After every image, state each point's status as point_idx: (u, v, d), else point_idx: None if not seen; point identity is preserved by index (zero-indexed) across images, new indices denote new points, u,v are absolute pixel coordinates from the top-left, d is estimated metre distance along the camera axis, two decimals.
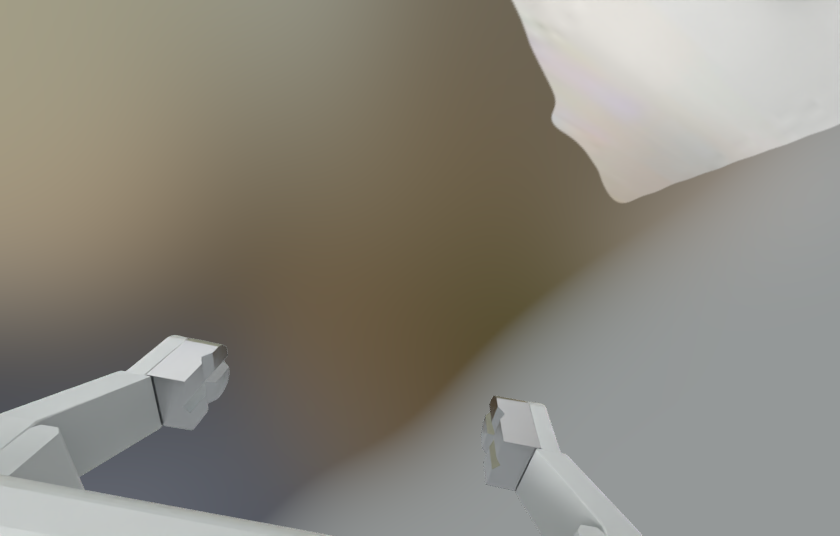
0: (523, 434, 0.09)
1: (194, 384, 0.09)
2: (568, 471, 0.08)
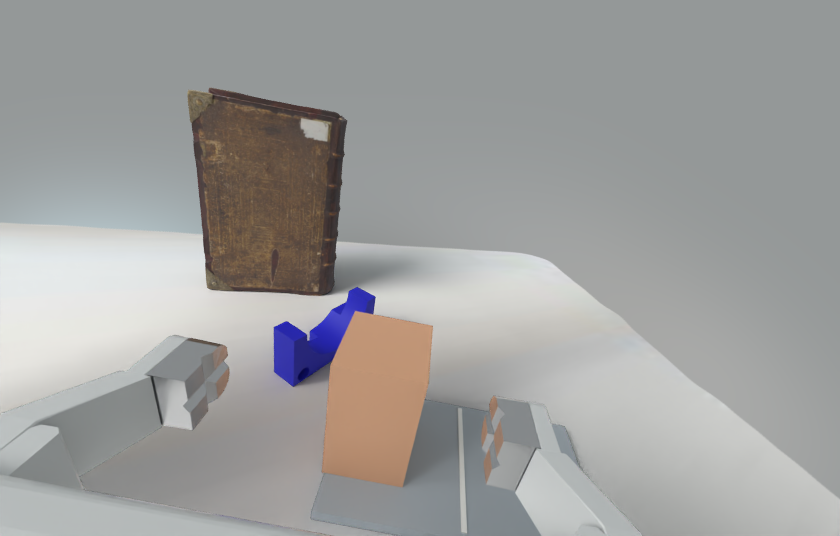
0: (523, 434, 0.09)
1: (194, 384, 0.09)
2: (568, 471, 0.08)
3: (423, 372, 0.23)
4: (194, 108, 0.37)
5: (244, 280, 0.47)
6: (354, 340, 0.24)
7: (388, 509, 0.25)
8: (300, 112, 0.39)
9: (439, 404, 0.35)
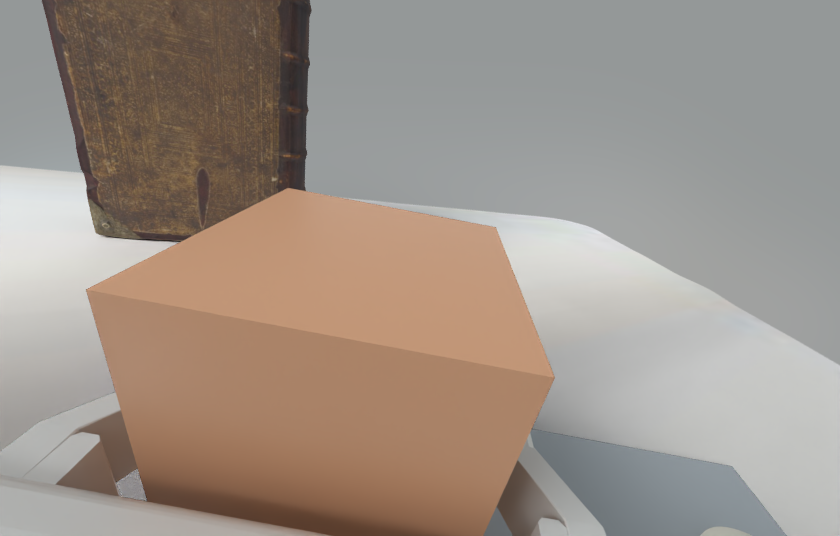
0: None
1: None
2: (535, 465, 0.08)
3: (515, 332, 0.05)
4: None
5: (157, 222, 0.30)
6: (255, 232, 0.07)
7: None
8: None
9: None
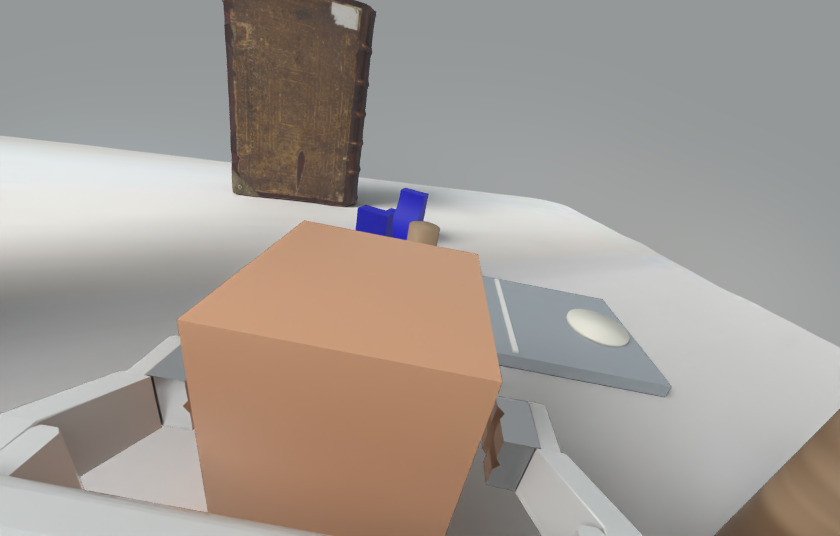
0: (523, 434, 0.09)
1: None
2: (568, 471, 0.08)
3: (479, 348, 0.07)
4: None
5: (270, 185, 0.47)
6: (284, 266, 0.09)
7: None
8: None
9: None
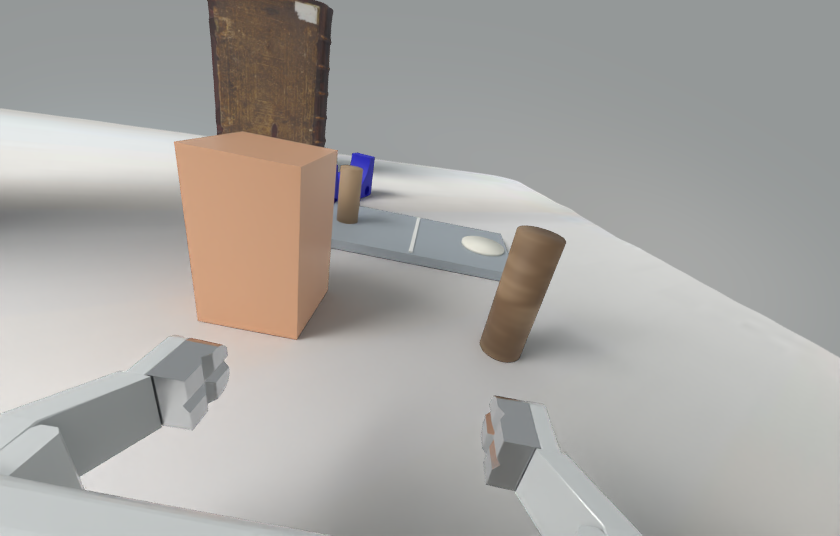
0: (523, 434, 0.09)
1: (194, 384, 0.09)
2: (568, 471, 0.08)
3: (300, 162, 0.18)
4: None
5: None
6: (224, 139, 0.20)
7: (357, 239, 0.35)
8: None
9: (403, 215, 0.45)
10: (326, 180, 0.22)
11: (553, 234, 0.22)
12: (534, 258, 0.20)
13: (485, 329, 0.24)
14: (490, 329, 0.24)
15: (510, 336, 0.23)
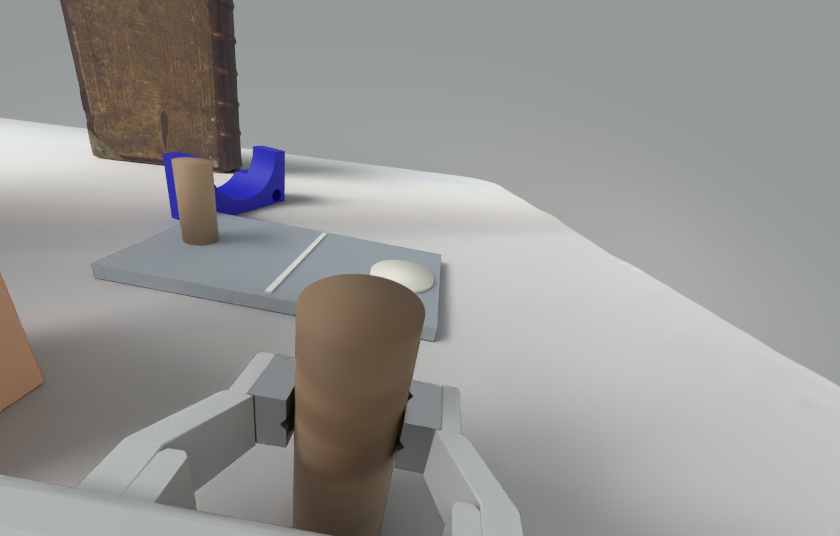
0: (426, 416, 0.09)
1: (291, 402, 0.09)
2: (462, 451, 0.08)
3: None
4: None
5: (134, 148, 0.44)
6: None
7: (187, 272, 0.22)
8: None
9: (303, 229, 0.32)
10: None
11: (405, 299, 0.09)
12: (323, 377, 0.07)
13: None
14: (293, 502, 0.10)
15: (324, 532, 0.10)
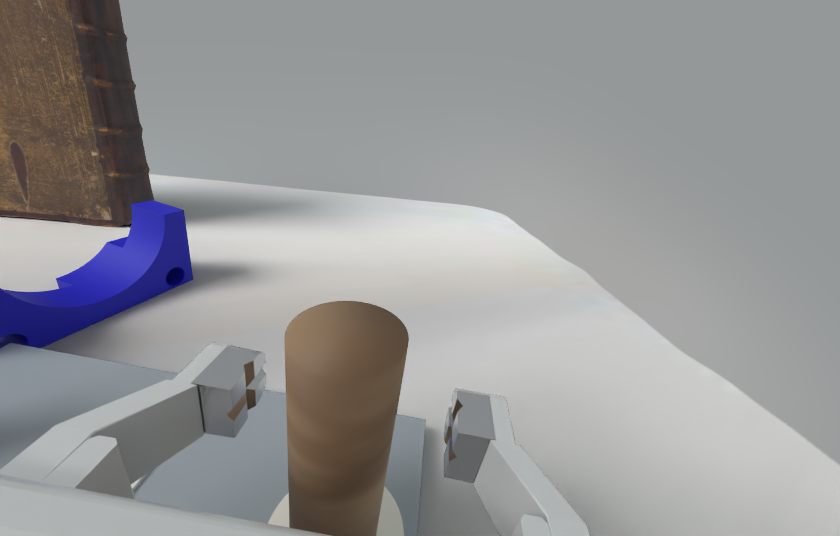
0: (479, 426, 0.09)
1: (238, 392, 0.09)
2: (519, 462, 0.08)
3: None
4: None
5: None
6: None
7: None
8: None
9: None
10: None
11: (389, 327, 0.09)
12: (311, 406, 0.08)
13: None
14: (289, 519, 0.11)
15: None
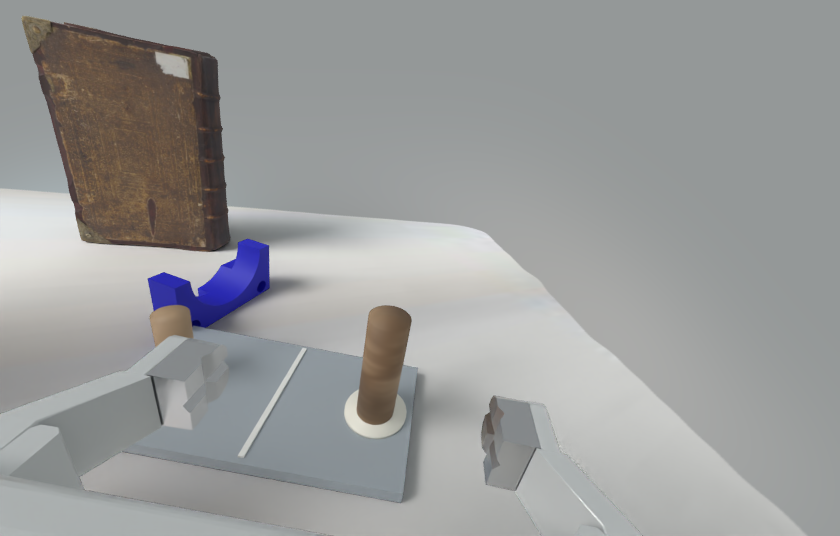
0: (523, 434, 0.09)
1: (194, 384, 0.09)
2: (568, 471, 0.08)
3: None
4: (32, 36, 0.35)
5: (122, 232, 0.45)
6: None
7: (163, 434, 0.23)
8: (154, 45, 0.37)
9: (283, 344, 0.33)
10: None
11: (404, 316, 0.24)
12: (378, 341, 0.23)
13: (358, 394, 0.27)
14: (359, 395, 0.26)
15: (373, 404, 0.25)
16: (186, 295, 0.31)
